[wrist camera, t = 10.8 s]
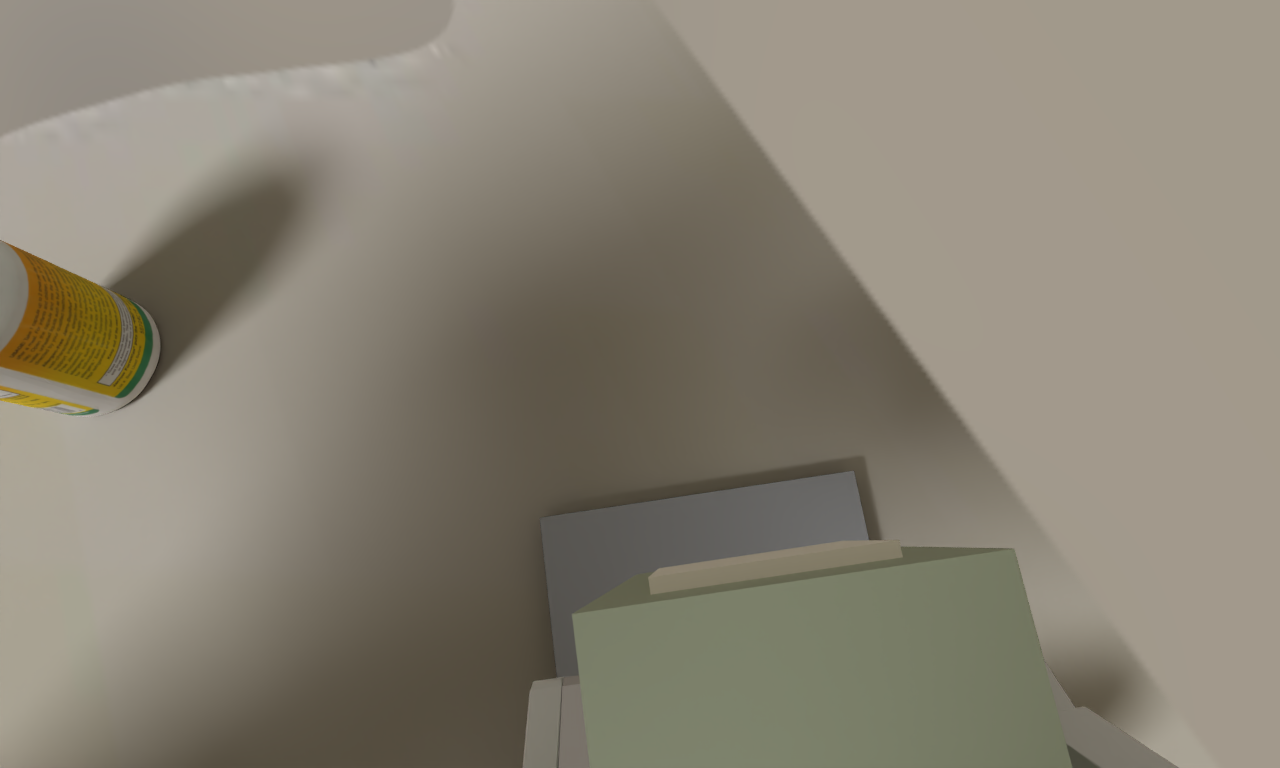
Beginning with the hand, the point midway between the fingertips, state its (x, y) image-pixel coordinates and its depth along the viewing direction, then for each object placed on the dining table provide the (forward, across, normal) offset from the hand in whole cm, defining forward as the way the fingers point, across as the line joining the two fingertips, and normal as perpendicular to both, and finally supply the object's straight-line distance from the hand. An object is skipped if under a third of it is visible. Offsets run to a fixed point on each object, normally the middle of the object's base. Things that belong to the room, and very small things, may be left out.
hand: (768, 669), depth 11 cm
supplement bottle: (+20, +24, +1) cm, 32 cm away
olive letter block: (+3, 0, +4) cm, 4 cm away
